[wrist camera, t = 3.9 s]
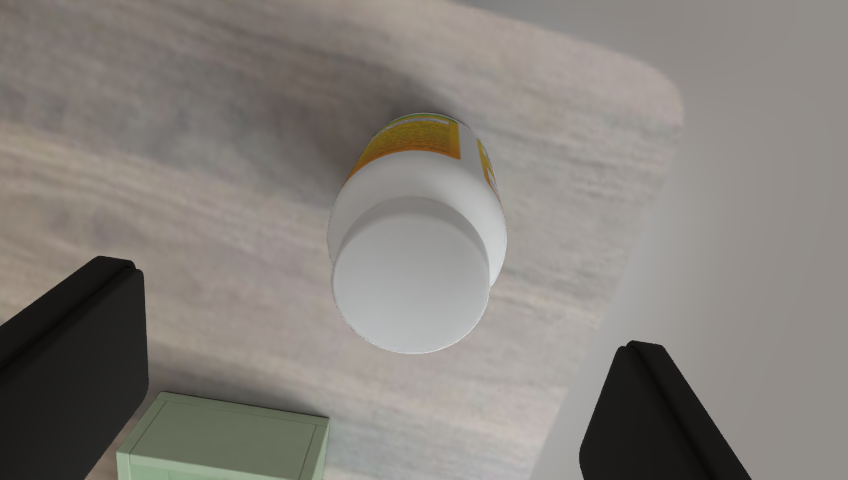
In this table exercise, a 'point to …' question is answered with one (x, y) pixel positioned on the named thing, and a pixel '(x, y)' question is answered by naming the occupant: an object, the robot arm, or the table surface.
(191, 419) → the tray
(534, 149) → the table surface
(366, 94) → the table surface
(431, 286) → the supplement bottle
